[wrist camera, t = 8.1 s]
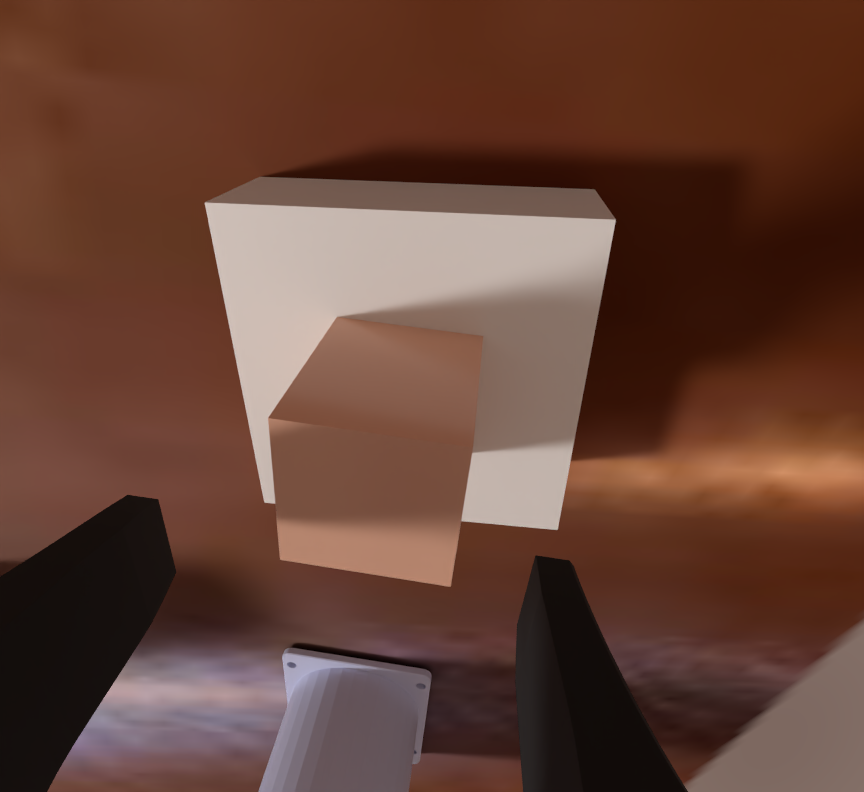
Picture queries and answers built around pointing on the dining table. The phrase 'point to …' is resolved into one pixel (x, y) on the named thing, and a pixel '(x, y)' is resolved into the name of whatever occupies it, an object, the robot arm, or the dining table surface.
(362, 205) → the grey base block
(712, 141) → the dining table surface
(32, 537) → the dining table surface
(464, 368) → the terracotta block
